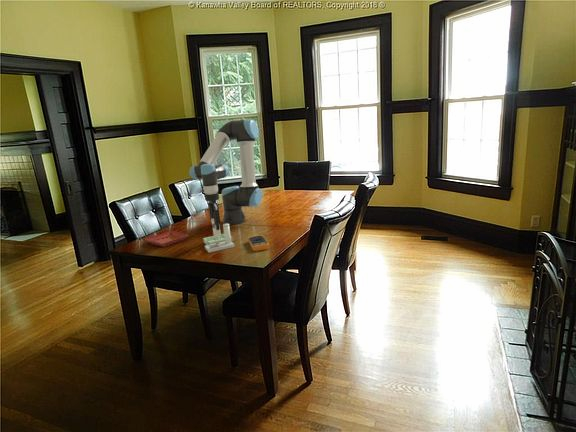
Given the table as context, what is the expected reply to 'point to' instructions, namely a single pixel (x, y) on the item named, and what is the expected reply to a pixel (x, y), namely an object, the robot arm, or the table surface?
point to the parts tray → (211, 240)
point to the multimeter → (258, 242)
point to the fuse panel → (218, 246)
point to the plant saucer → (166, 241)
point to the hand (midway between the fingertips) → (217, 233)
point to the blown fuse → (214, 231)
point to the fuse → (227, 233)
